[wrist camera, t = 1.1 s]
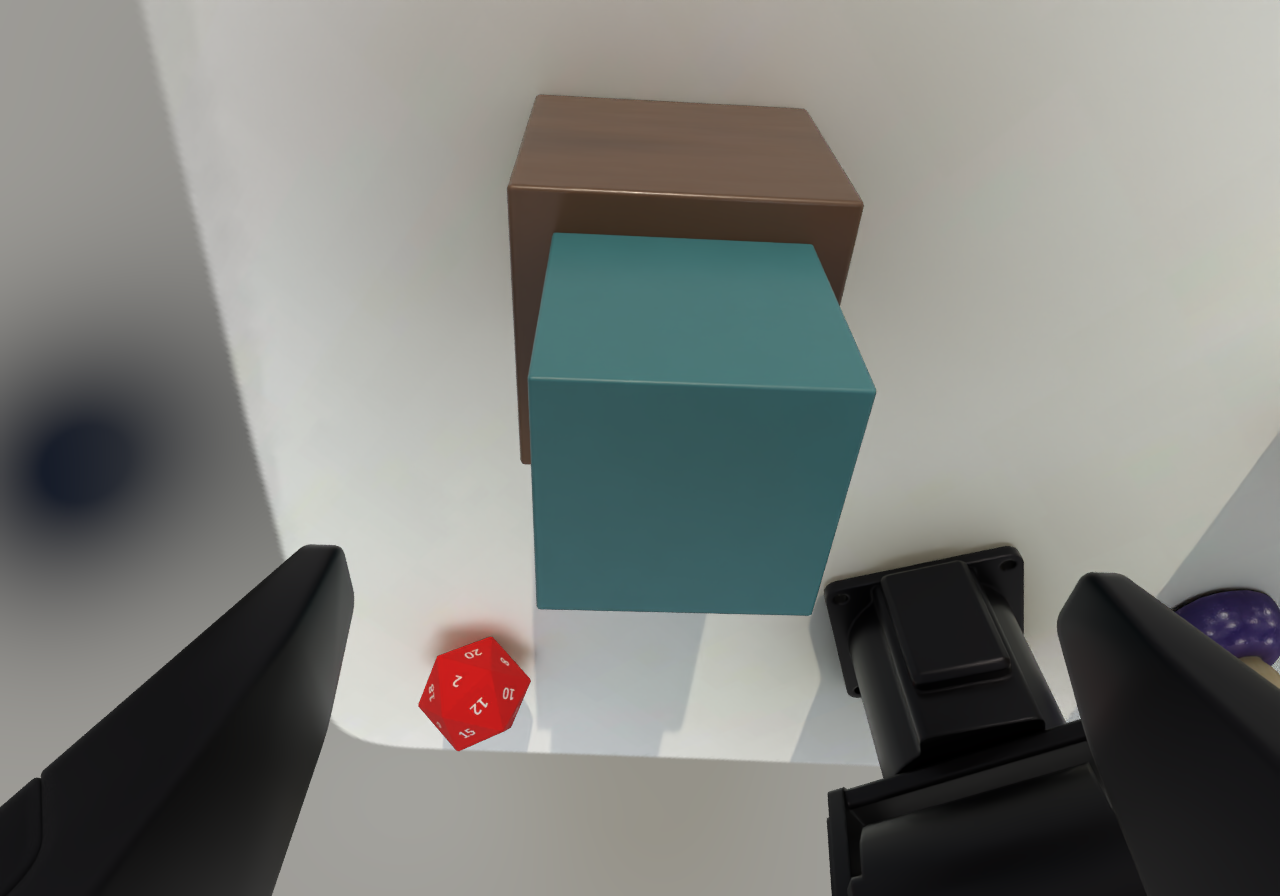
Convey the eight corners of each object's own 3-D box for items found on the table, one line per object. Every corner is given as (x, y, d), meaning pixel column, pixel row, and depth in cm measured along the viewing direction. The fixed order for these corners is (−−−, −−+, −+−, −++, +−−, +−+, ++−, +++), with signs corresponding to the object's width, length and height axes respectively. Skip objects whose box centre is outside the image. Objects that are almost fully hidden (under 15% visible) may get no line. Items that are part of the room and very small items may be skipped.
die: (417, 712, 30) (468, 790, 27) (391, 656, 28) (442, 734, 25) (500, 659, 31) (555, 727, 29) (481, 602, 29) (538, 670, 27)
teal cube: (772, 446, 16) (812, 617, 13) (555, 438, 16) (536, 611, 13) (813, 242, 14) (878, 390, 10) (552, 230, 14) (526, 377, 10)
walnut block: (765, 341, 21) (801, 475, 17) (541, 332, 21) (520, 465, 17) (807, 107, 18) (866, 202, 13) (535, 93, 17) (505, 185, 13)
